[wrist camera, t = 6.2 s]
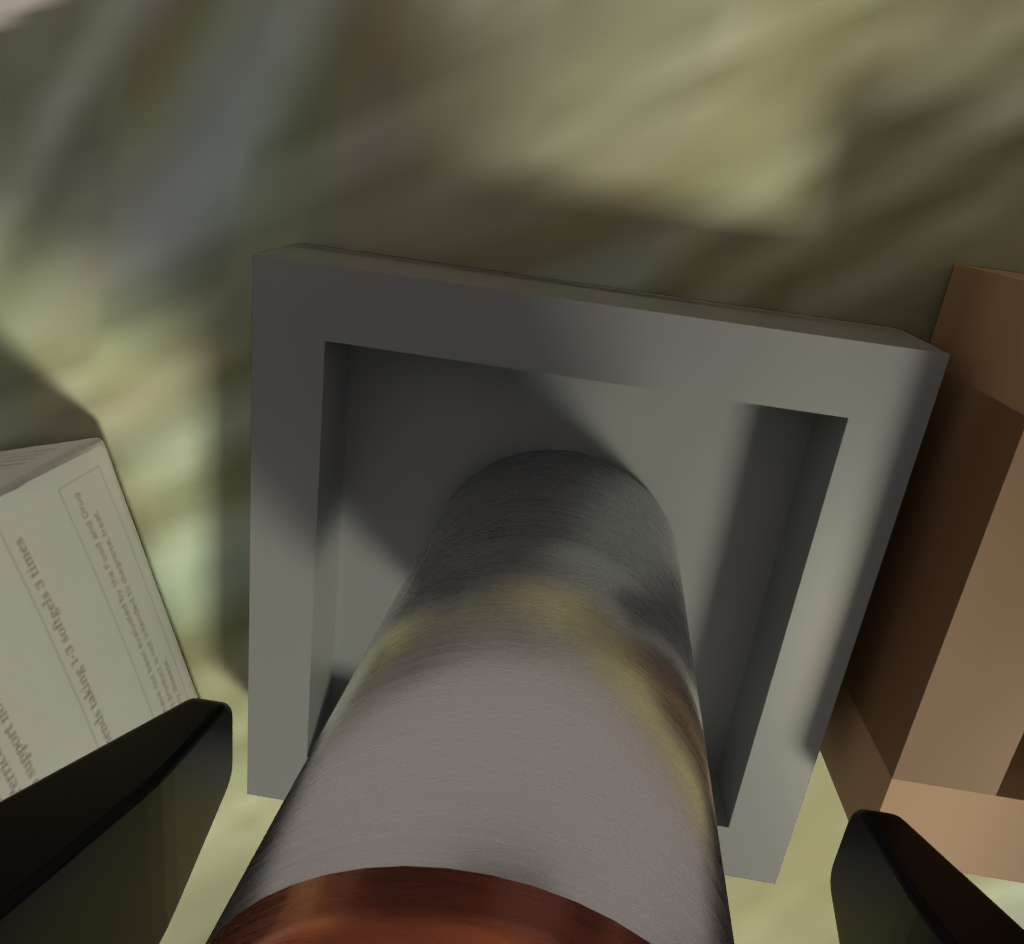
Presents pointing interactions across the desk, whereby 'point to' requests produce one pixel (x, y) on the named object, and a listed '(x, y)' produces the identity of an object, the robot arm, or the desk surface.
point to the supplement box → (75, 614)
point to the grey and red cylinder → (510, 741)
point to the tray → (590, 431)
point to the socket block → (951, 608)
